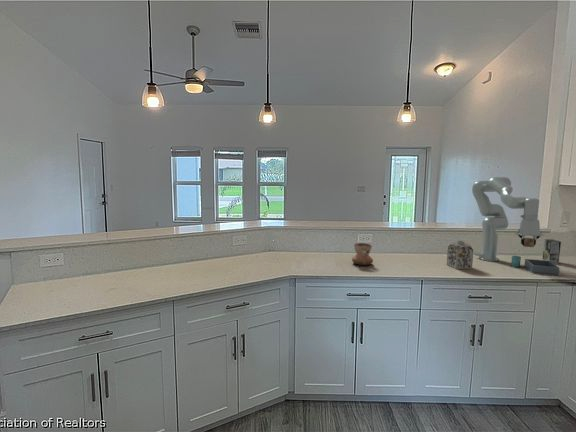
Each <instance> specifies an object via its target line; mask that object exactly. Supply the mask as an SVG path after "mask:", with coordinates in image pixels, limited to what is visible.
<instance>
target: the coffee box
mask: <svg viewBox="0 0 576 432" xmlns="http://www.w3.org/2000/svg"><path fill="white" fill-rule="evenodd" d="M561 245H562V241H560V240H556V239H550V238H549V239H547V238H545V239H544V240H543V248H542V249H543V253H542V260H545V261H551V262H552V263H553V264H555V265H559V263H560V254H561Z"/></svg>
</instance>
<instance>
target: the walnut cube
mask: <svg viewBox="0 0 576 432" xmlns="http://www.w3.org/2000/svg"><path fill="white" fill-rule="evenodd" d="M522 246H523V248H524V247H525V248H526V247H527V248H534V247H535V246H534V239H533V237H532V238H531V237H524V245H522Z"/></svg>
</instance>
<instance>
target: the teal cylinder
mask: <svg viewBox="0 0 576 432" xmlns="http://www.w3.org/2000/svg"><path fill="white" fill-rule="evenodd" d="M521 258H522V257H521V256H520V255H511V261H510V263H511V265H510V267H512V268H520V267H521Z"/></svg>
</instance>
